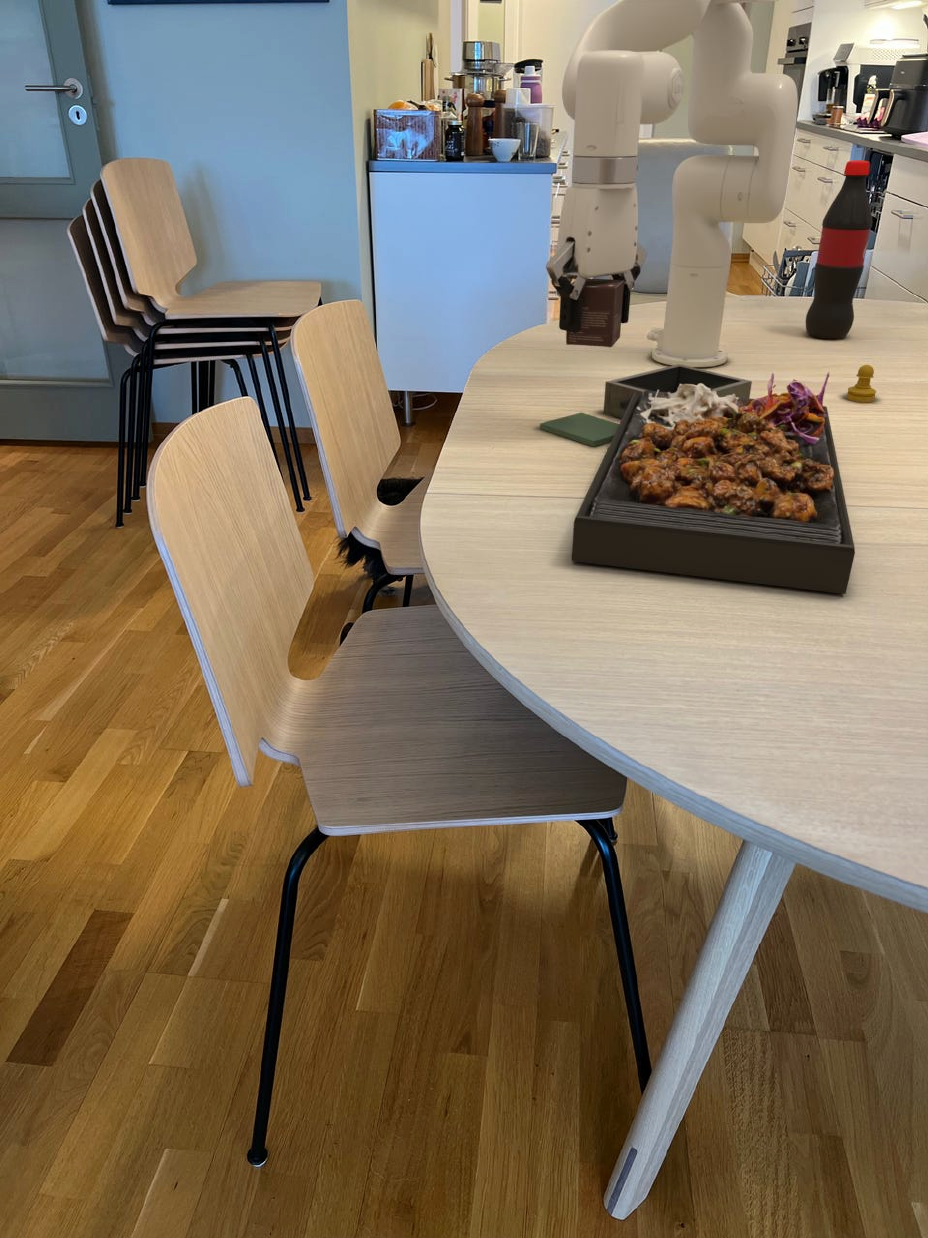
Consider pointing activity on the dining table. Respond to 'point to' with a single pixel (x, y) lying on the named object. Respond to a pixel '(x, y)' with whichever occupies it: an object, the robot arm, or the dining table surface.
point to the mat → (582, 428)
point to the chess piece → (862, 386)
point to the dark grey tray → (669, 385)
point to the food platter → (721, 490)
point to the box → (599, 313)
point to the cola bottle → (841, 256)
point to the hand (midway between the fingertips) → (594, 325)
